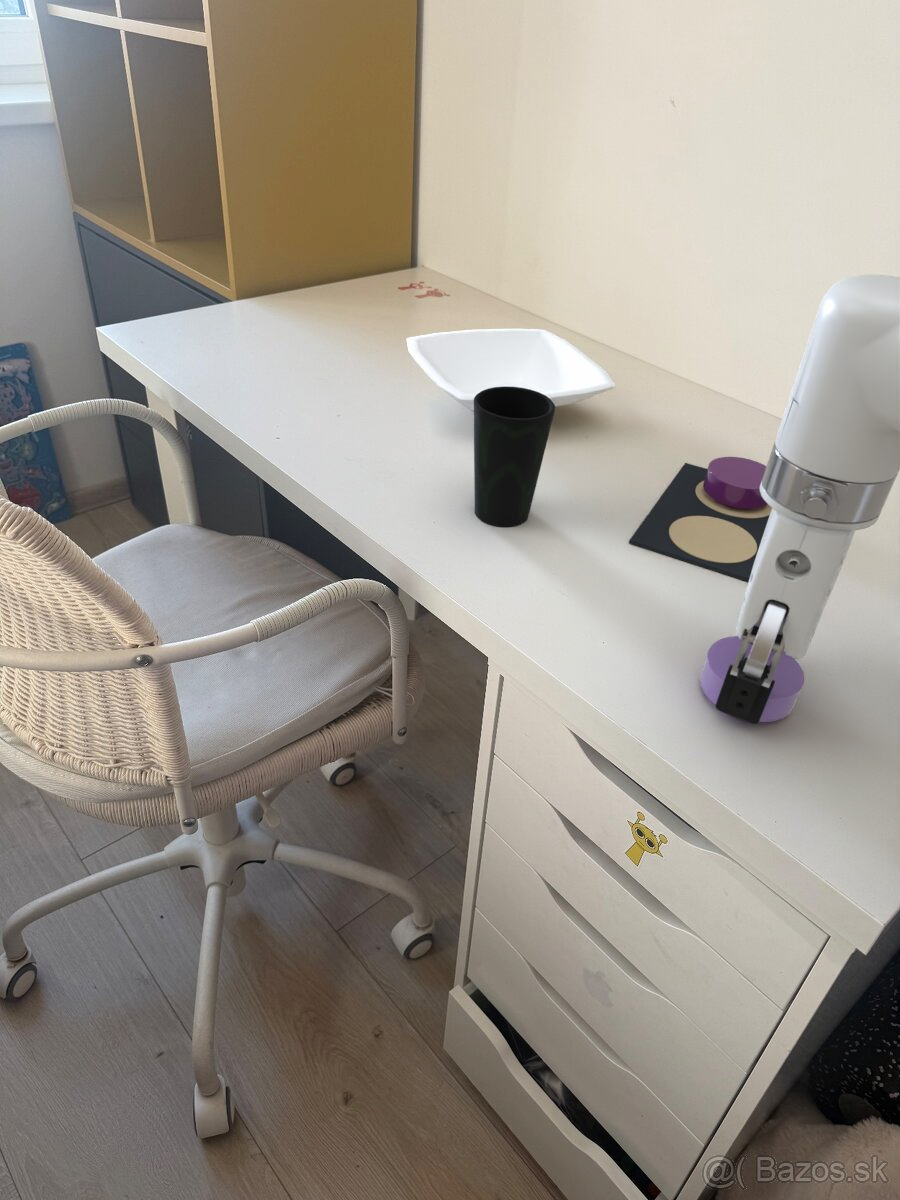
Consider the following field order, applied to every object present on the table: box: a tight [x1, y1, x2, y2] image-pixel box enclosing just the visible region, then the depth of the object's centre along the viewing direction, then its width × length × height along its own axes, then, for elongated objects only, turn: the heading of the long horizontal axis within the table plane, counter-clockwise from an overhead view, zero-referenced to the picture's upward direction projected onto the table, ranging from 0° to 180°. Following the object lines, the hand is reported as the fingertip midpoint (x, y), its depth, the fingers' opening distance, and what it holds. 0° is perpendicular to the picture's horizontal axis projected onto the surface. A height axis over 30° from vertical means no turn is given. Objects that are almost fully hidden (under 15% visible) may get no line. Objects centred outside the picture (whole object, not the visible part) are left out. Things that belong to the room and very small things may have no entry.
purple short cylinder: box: [703, 456, 768, 510], centre depth 89 cm, size 7×7×3 cm
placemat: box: [628, 462, 772, 583], centre depth 86 cm, size 14×20×1 cm
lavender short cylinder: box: [699, 635, 805, 723], centre depth 64 cm, size 7×7×3 cm
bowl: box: [406, 328, 616, 412], centre depth 105 cm, size 22×23×6 cm
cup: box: [473, 386, 556, 528], centre depth 81 cm, size 8×8×12 cm
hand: (748, 682), depth 64 cm, fingers closed on lavender short cylinder, 7 cm apart
